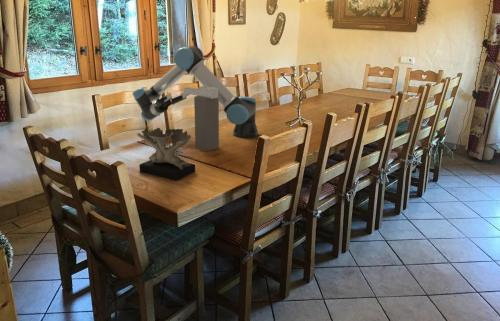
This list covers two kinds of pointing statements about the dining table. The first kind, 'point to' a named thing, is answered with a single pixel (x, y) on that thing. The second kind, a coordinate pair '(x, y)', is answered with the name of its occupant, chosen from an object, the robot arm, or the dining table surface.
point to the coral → (166, 155)
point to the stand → (206, 123)
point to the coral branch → (175, 150)
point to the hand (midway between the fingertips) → (180, 93)
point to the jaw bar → (203, 92)
